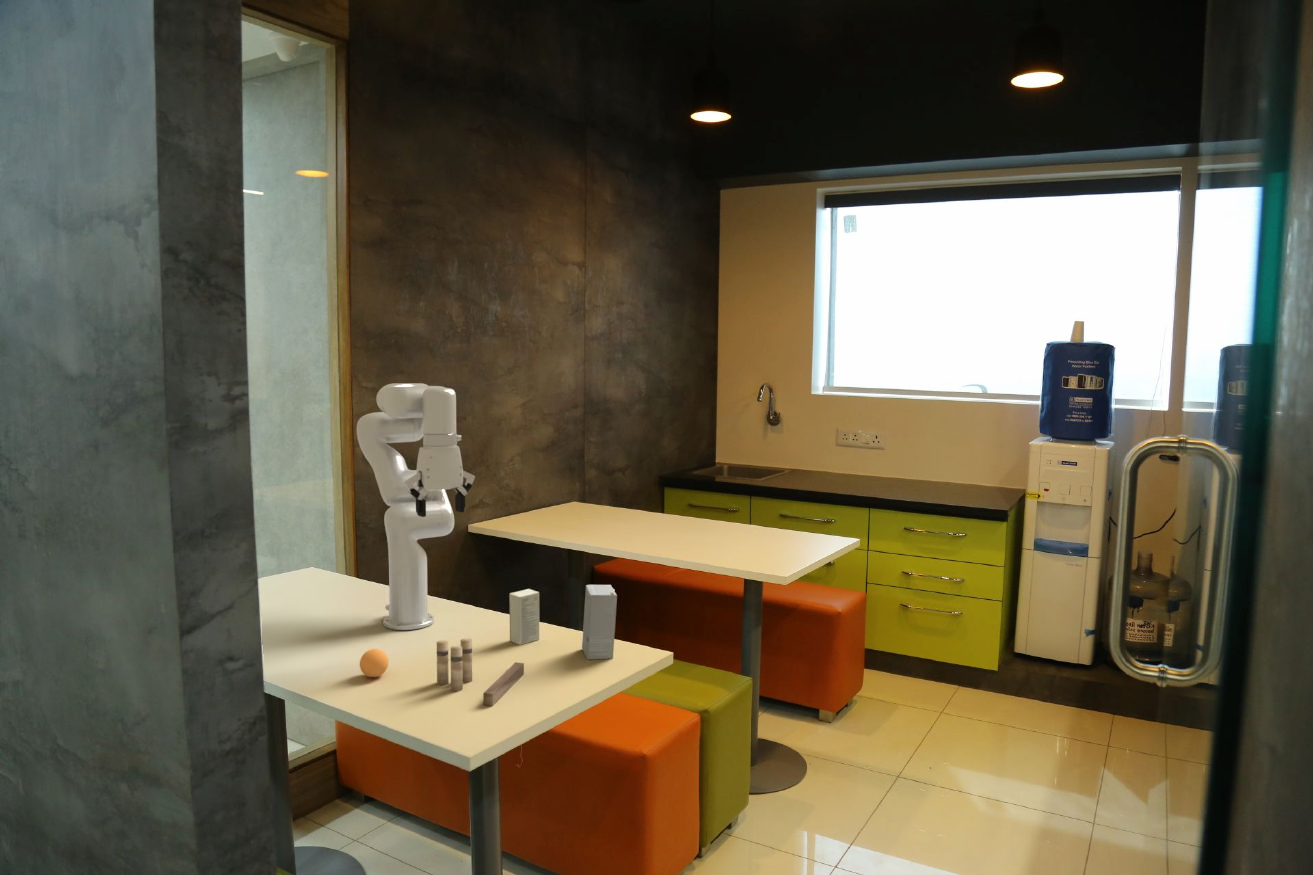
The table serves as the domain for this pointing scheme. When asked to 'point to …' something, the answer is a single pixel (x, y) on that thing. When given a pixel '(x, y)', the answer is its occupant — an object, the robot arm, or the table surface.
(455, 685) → the back pin right
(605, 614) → the skincare box
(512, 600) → the skincare box
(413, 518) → the robot arm
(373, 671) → the ball
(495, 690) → the back wall
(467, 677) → the back pin left
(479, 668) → the table surface
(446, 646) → the front pin
